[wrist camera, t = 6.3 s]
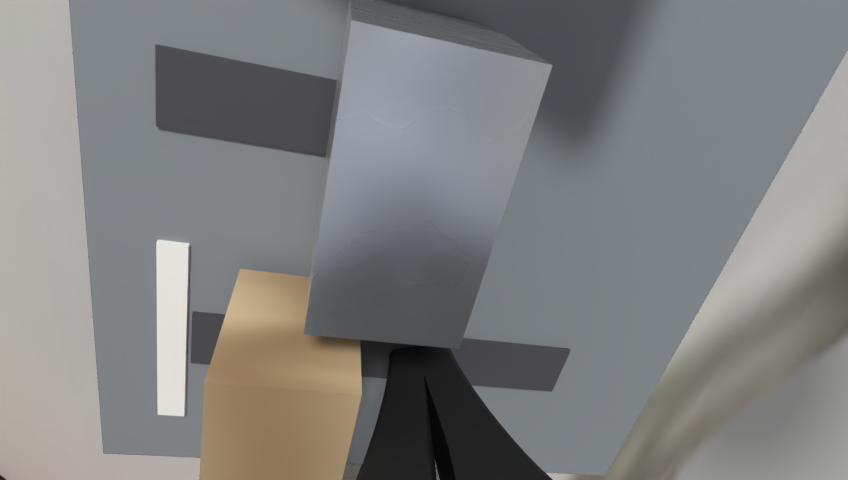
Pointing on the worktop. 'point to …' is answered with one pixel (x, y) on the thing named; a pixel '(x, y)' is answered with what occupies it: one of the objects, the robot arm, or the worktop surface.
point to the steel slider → (416, 172)
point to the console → (521, 224)
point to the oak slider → (277, 388)
